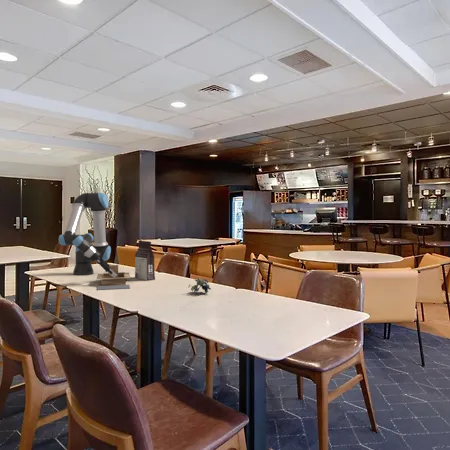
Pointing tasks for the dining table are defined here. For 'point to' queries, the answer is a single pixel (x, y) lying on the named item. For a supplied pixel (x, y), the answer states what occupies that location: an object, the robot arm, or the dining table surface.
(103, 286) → the mat
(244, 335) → the dining table surface
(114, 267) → the box
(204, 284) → the passion flower
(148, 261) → the coffee bag
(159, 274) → the dining table surface
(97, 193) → the robot arm
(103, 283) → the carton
